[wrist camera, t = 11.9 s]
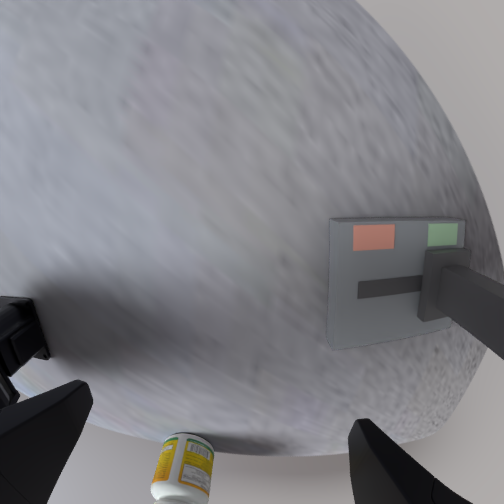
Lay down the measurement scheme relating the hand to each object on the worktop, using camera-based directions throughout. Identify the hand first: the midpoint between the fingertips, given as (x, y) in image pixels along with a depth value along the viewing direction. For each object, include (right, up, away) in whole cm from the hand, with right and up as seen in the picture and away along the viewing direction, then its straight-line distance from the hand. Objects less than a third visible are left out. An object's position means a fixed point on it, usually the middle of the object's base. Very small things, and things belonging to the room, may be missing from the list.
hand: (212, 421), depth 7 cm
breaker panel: (+12, +3, +12) cm, 18 cm away
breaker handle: (+15, +3, +10) cm, 18 cm away
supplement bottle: (-5, -15, +16) cm, 23 cm away
